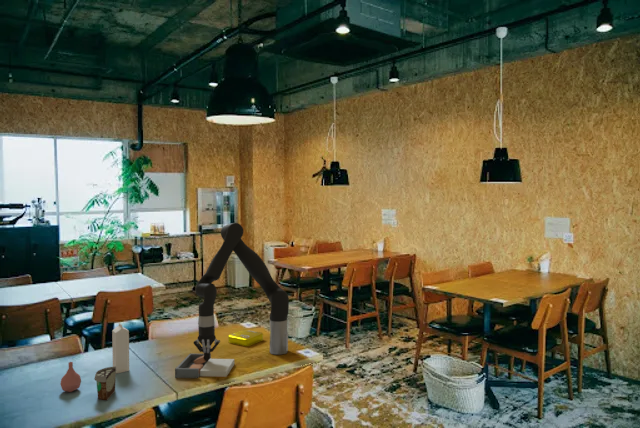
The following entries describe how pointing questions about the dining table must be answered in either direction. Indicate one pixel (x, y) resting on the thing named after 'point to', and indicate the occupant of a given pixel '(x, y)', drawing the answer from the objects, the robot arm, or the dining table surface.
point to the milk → (120, 348)
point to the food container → (105, 382)
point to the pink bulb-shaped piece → (70, 380)
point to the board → (217, 367)
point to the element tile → (245, 338)
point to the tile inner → (199, 360)
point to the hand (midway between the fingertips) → (207, 360)
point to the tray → (188, 367)
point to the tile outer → (197, 366)
